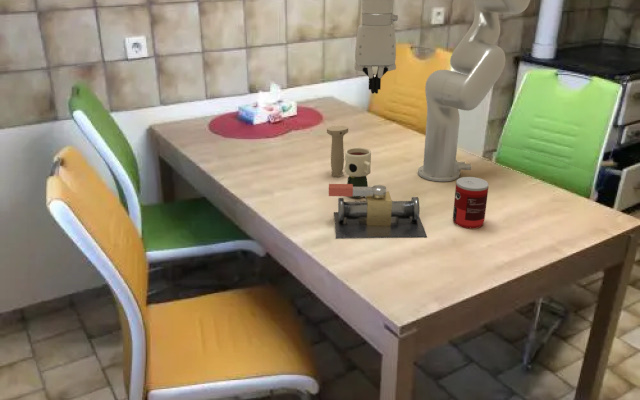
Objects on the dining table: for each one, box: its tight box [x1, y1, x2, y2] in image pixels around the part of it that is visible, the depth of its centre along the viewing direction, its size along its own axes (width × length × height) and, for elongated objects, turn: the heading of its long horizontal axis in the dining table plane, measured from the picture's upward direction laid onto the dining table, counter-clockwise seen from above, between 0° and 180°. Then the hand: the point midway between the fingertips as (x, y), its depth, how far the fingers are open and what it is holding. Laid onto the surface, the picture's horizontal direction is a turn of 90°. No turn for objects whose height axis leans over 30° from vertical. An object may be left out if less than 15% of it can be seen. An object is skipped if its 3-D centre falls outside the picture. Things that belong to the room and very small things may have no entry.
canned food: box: [452, 176, 489, 229], centre depth 148 cm, size 8×8×11 cm
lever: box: [328, 183, 387, 198], centre depth 148 cm, size 14×4×2 cm, turn 87°
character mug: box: [344, 147, 372, 198], centre depth 164 cm, size 11×7×13 cm, turn 33°
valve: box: [333, 191, 428, 239], centre depth 148 cm, size 22×14×7 cm, turn 91°
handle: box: [326, 125, 349, 178], centre depth 177 cm, size 5×6×15 cm
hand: (374, 92), depth 155 cm, fingers closed
